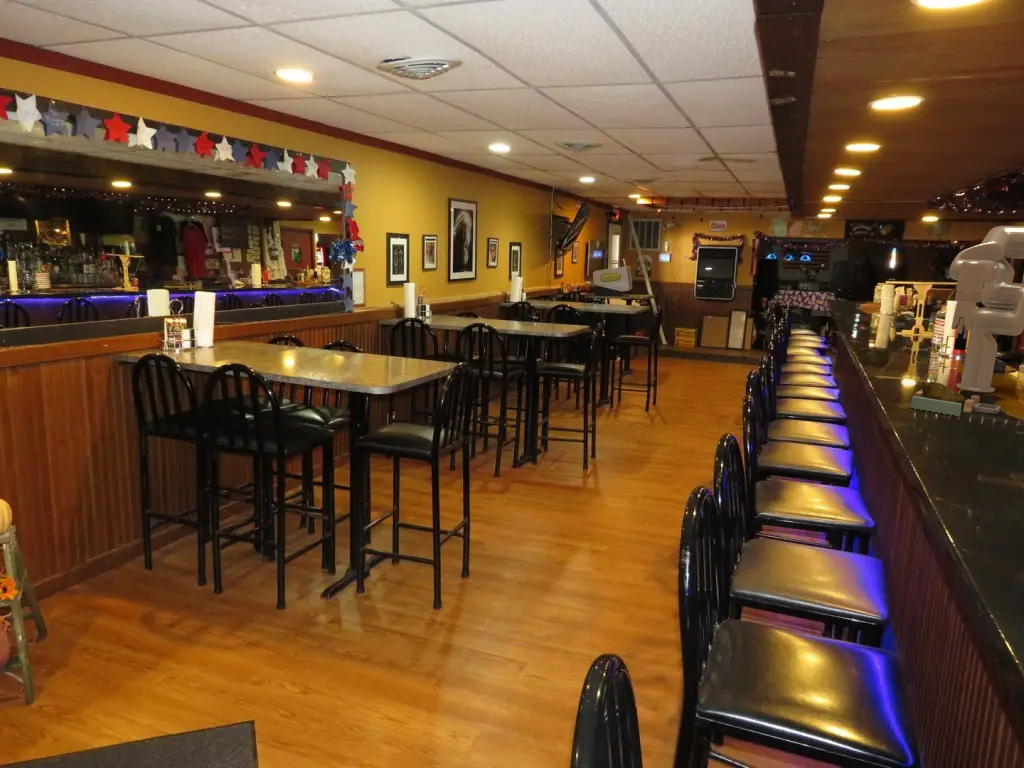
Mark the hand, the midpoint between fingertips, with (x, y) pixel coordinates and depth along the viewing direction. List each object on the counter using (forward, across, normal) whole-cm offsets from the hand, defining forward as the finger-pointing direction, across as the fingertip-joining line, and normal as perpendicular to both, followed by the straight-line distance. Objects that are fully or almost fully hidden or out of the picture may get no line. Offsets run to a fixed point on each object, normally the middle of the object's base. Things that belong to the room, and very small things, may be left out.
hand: (959, 349), depth 243 cm
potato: (+19, +12, 0) cm, 22 cm away
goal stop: (+18, +24, 0) cm, 31 cm away
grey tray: (+18, +8, +12) cm, 23 cm away
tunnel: (+18, +8, 0) cm, 20 cm away
